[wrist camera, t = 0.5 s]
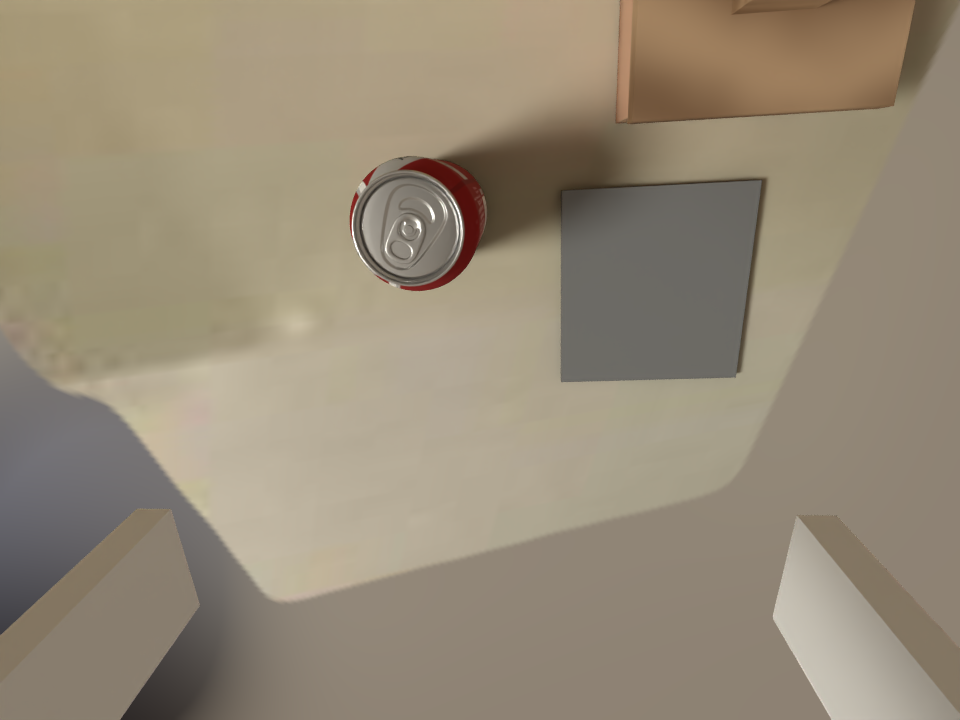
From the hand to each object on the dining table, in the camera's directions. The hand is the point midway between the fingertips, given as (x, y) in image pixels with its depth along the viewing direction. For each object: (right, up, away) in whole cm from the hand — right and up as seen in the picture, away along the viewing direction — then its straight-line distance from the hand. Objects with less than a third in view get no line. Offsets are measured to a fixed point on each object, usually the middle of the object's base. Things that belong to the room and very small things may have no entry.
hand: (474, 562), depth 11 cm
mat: (+13, +10, +26) cm, 30 cm away
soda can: (-3, +15, +25) cm, 29 cm away
